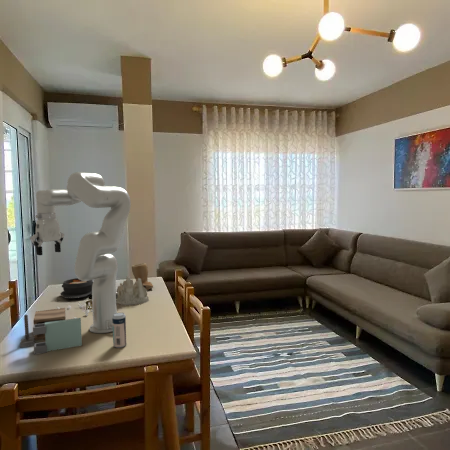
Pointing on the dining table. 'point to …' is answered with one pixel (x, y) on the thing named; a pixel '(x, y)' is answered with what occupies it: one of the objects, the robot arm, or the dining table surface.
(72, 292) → the casserole
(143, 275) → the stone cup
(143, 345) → the dining table surface
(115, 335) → the beer can
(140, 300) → the grey castle model
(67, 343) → the door
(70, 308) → the game piece set
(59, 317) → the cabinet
